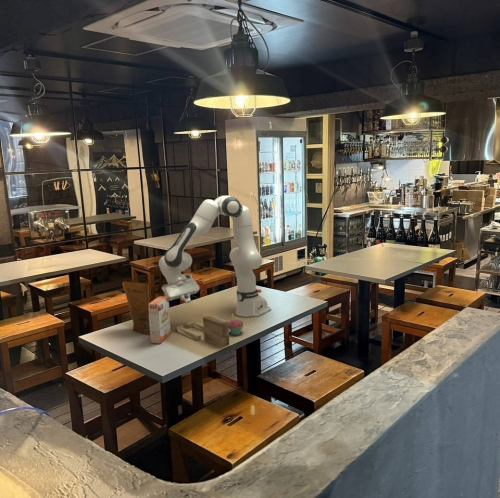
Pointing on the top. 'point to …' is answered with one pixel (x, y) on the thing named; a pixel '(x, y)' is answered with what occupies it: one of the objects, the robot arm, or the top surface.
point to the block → (216, 330)
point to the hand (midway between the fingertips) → (188, 302)
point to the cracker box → (159, 319)
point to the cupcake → (235, 326)
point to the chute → (184, 331)
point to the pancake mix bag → (138, 305)
